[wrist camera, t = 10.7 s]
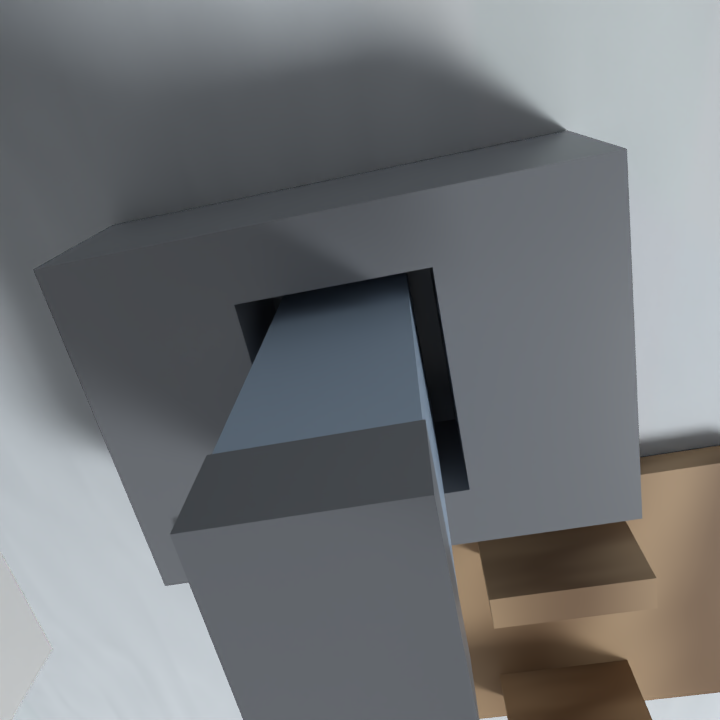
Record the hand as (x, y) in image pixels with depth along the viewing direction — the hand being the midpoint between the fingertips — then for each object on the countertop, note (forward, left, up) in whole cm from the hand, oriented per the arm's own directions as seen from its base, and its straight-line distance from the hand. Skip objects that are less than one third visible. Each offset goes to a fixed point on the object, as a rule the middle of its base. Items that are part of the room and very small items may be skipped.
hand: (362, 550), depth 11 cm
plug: (0, 0, -10) cm, 10 cm away
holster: (-5, +12, -11) cm, 17 cm away
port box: (0, 0, -11) cm, 11 cm away
